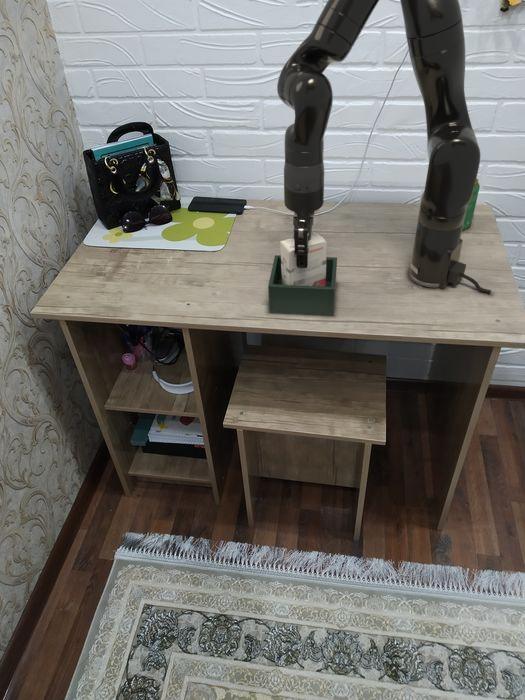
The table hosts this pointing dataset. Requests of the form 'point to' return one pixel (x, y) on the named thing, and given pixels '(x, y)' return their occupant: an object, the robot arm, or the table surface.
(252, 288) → the table surface
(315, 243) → the ink box
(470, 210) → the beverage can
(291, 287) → the bin
